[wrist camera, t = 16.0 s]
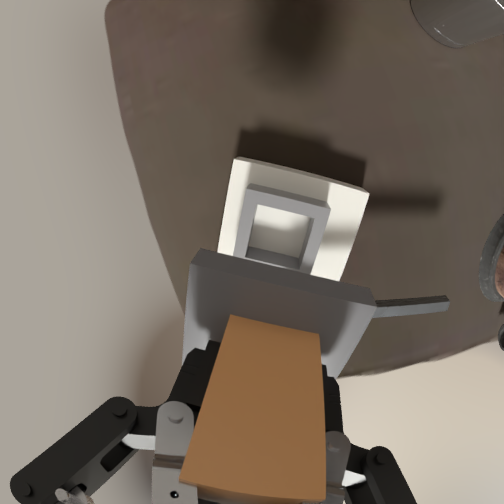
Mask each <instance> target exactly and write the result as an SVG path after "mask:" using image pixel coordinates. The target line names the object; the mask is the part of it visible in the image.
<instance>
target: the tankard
mask: <svg viewBox="0 0 504 504" xmlns="http://www.w3.org/2000/svg"><path fill="white" fill-rule="evenodd" d="M479 283H480V288H481V290H482V292H483V294H484V296H485V297H486V298H487V299H489V300H491V301H495V302H499V301H504V214H503V215H502V216H501V218H500V219H499V220H498V221H497V223H496V224H495V226H494V228H493V229H492V231H491V233H490V235H489V237H488V239H487V241H486V244H485V247H484V249H483V252H482V256H481V261H480V267H479ZM498 341H499V345H500V347H501V349H502V350H503V351H504V324H503V325H502V326H501V328H500V330H499V333H498Z"/></svg>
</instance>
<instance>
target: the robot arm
mask: <svg viewBox="0 0 504 504" xmlns="http://www.w3.org/2000/svg"><path fill="white" fill-rule="evenodd" d="M411 7H412V10H413V13H414V15H415V17H416V19H417V21H418V22H419V23H420V25H421V26H422V27H423V29H424V30H425V31H426V32H427V33H428V34H429V35H430V36H432V37H433V38H434V39H435V40H437V41H438V42H440V43H442V44H444V45H446V46H448V47H452V48H462V47H465V46H468V45H471V44H474V43H477V42H480V41H483V40H486V39H489V38H493V37H496V36H499V35H503V34H504V0H411ZM220 345H221V343H220V342H216V341H212V340H209V341H208V343H207V346H206V349H205V350H202V349H199V348H194V349H193V350H191V351H190V352H189V353H188V354H187V356H186V358H185V360H184V363H183V365H182V367H181V370H180V372H179V375H178V377H177V380H176V382H175V384H174V386H173V389H172V391H171V394H170V396H169V398H168V399H167V401H166V402H164V403H163V404H161V405H159V406H156V407H142V406H135V405H134V403H133V402H132V401H130V400H129V399H127V398H124V397H113V398H110V399H109V400H107V401H106V402H105V403H104V404H103V405H101V406H100V407H99V408H98V409H96V410H95V411H94V412H93V413H91V415H89V416H88V417H87V418H85V419H84V420H83V421H82V422H80V423H79V424H78V425H77V426H75V427H74V428H73V429H72V430H71V431H70V432H68V433H67V434H66V435H64V436H63V437H62V438H61V439H59V440H58V441H57V442H56V443H54V444H53V445H52V446H51V447H49V448H48V449H47V450H46V451H45V452H43V453H42V454H41V455H39V456H38V457H37V458H35V459H34V460H33V461H32V462H30V463H29V464H28V465H26V466H25V467H24V468H23V469H21V470H20V471H19V472H18V473H16V474H15V475H14V476H13V477H12V478H11V481H10V489H11V492H12V494H13V496H14V497H15V499H16V500H17V501H18V502H20V503H21V504H94V502H93V500H92V498H91V497H90V496H91V495H92V494H93V493H94V492H95V491H96V490H98V489H99V488H100V487H101V486H102V485H103V484H104V483H105V482H106V481H107V480H108V479H109V478H110V477H111V476H113V475H114V474H115V473H116V472H117V471H118V470H119V469H120V468H121V467H122V466H123V465H124V464H125V463H126V462H127V461H128V460H129V459H130V458H131V457H132V456H133V455H134V454H135V453H136V452H137V451H138V450H139V449H147V450H155V457H154V459H153V469H152V504H220V503H217V502H213V501H208V500H204V499H200V498H198V496H197V485H193V484H189V483H185V482H182V481H179V476H180V473H181V469H182V466H183V463H184V460H185V457H186V453H187V450H188V447H189V444H190V441H191V437H192V434H193V431H194V428H195V425H196V422H197V418H198V415H199V412H200V409H201V406H202V402H203V399H204V396H205V393H206V390H207V387H208V383H209V380H210V377H211V374H212V371H213V368H214V364H215V361H216V358H217V355H218V352H219V349H220ZM322 376H323V392H324V411H325V438H326V499H325V500H324V501H303V502H301V503H299V504H343V501H344V500H345V503H346V504H417V503H416V501H415V499H414V496H413V494H412V492H411V490H410V488H409V486H408V484H407V482H406V480H405V478H404V476H403V475H402V472H401V470H400V468H399V466H398V464H397V462H396V460H395V458H394V456H393V454H392V453H391V451H390V450H388V449H387V448H385V447H382V446H376V447H373V448H372V449H370V450H367V449H364V448H361V447H358V446H356V445H353V444H352V443H350V441H349V439H348V438H347V436H346V435H344V432H343V422H342V411H341V405H340V403H341V401H340V391H339V385H338V383H337V382H336V380H335V378H334V377H330V376H327V367H326V365H324V364H322Z"/></svg>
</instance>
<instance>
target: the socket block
mask: <svg viewBox="0 0 504 504" xmlns="http://www.w3.org/2000/svg"><path fill="white" fill-rule="evenodd" d="M368 197H369V193H368V192H367V191H366V190H364V189H363V188H361V187H358V186H355V185H352V184H348V183H345V182H341V181H338V180H335V179H331V178H327V177H324V176H320V175H317V174H313V173H309V172H305V171H301V170H297V169H293V168H289V167H285V166H281V165H276V164H272V163H268V162H263V161H259V160H254V159H249V158H244V157H237V158H235V159H234V161H233V166H232V172H231V177H230V182H229V188H228V193H227V199H226V204H225V210H224V216H223V221H222V227H221V233H220V239H219V245H218V251H217V252H218V253H222V254H227V255H231V256H235V257H239V258H243V259H247V260H251V261H255V262H260V263H264V264H268V265H272V266H276V267H280V268H285V269H289V270H293V271H297V272H302V273H306V274H310V275H314V276H318V277H323V278H327V279H331V280H336V281H339V280H340V277H341V275H342V272H343V270H344V267H345V264H346V262H347V259H348V256H349V254H350V251H351V248H352V245H353V243H354V240H355V237H356V234H357V231H358V228H359V225H360V222H361V219H362V216H363V213H364V210H365V207H366V204H367V201H368Z"/></svg>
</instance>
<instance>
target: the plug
mask: <svg viewBox="0 0 504 504" xmlns="http://www.w3.org/2000/svg"><path fill="white" fill-rule="evenodd" d="M376 309H377V305H376V302H375V300H374V297H373V295H372V293H371V290H370V288H366V287H361V286H357V285H353V284H348V283H344V282H340V281H336V280H331V279H327V278H323V277H318V276H314V275H310V274H306V273H302V272H297V271H293V270H289V269H285V268H280V267H276V266H272V265H268V264H264V263H260V262H255V261H251V260H247V259H243V258H239V257H235V256H231V255H227V254H222V253H218V252H214V251H210V250H206V249H202V248H200V250H199V251H198V253H197V254H196V256H195V257H194V258H193V260H192V261H191V263H190V269H189V279H188V289H187V300H186V312H185V326H184V341H183V358H182V365H183V363H184V360H185V358H186V356H187V354H188V353H189V352H190V351H191V350H193V349H194V348H199V349H202V350H205V349H206V346H207V343H208V341H209V340H212V341H216V342H220V343H221V345H220V349H219V352H218V355H217V358H216V361H215V364H214V368H213V371H212V374H211V377H210V380H209V383H208V387H207V390H206V393H205V396H204V399H203V402H202V406H201V409H200V412H199V415H198V418H197V422H196V425H195V428H194V431H193V434H192V437H191V441H190V444H189V447H188V450H187V453H186V457H185V460H184V463H183V466H182V469H181V473H180V476H179V481H182V482H185V483H189V484H193V485H197V496H198V498H200V499H204V500H208V501H213V502H217V503H220V504H299V503H301V502H303V501H324V500H325V499H326V438H325V411H324V392H323V376H322V364H324V365H326V367H327V376H330V377H334V378H335V380H336V378H337V377H338V375H339V374H340V372H341V371H342V369H343V367H344V366H345V364H346V362H347V361H348V359H349V357H350V356H351V354H352V352H353V351H354V349H355V347H356V346H357V344H358V342H359V340H360V339H361V337H362V335H363V333H364V331H365V330H366V328H367V326H368V324H369V322H370V320H371V318H372V316H373V315H374V313H375V311H376Z"/></svg>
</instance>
